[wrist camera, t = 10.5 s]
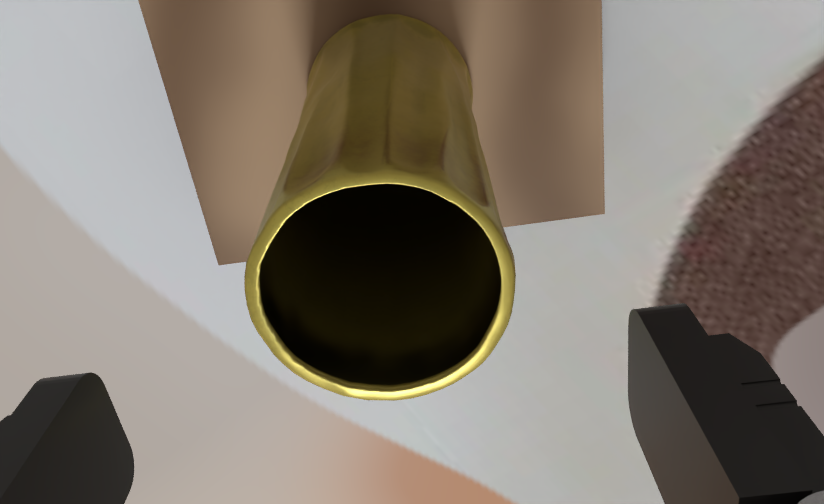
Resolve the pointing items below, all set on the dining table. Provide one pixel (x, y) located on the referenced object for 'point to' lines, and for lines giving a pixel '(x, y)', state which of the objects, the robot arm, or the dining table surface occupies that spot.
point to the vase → (383, 222)
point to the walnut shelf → (287, 89)
